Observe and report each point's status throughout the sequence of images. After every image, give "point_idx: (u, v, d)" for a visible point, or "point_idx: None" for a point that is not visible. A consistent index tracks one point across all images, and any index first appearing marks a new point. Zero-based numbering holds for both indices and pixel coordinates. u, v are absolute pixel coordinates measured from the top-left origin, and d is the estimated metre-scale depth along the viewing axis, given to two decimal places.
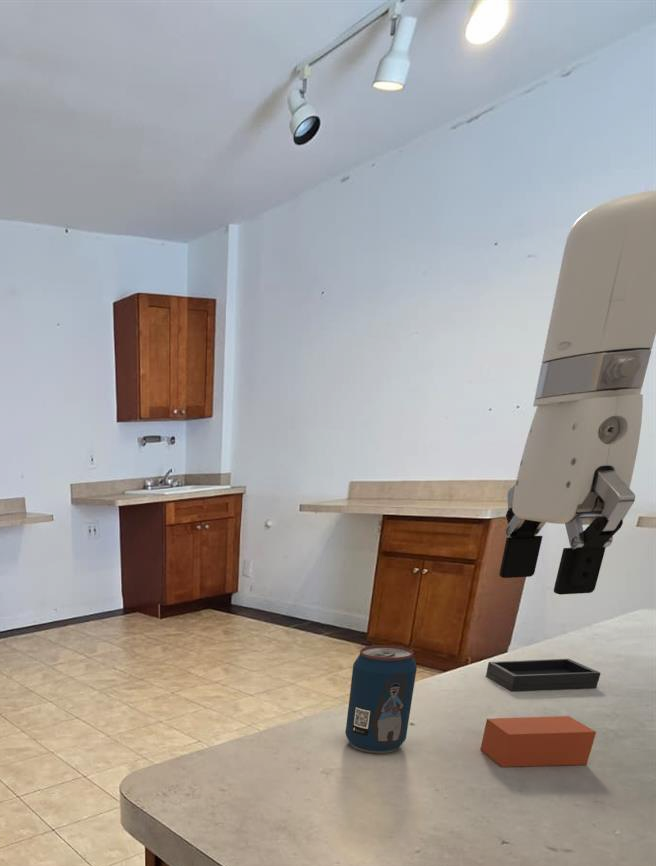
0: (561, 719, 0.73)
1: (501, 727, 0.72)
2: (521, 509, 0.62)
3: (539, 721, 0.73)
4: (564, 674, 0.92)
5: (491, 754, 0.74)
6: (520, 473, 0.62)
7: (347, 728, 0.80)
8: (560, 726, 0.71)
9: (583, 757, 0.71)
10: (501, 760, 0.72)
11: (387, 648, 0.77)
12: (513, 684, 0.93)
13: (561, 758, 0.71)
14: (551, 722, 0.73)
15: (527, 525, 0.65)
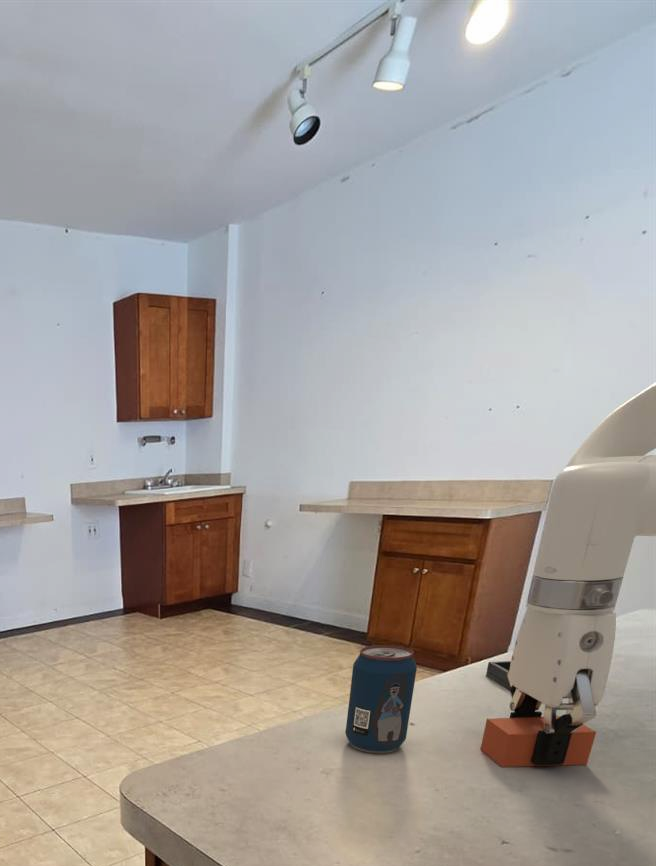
0: None
1: (501, 727, 0.72)
2: (516, 682, 0.73)
3: (539, 721, 0.73)
4: None
5: (491, 754, 0.74)
6: (515, 652, 0.73)
7: (347, 728, 0.80)
8: None
9: (583, 757, 0.71)
10: (501, 760, 0.72)
11: (387, 648, 0.77)
12: None
13: None
14: None
15: (528, 703, 0.74)
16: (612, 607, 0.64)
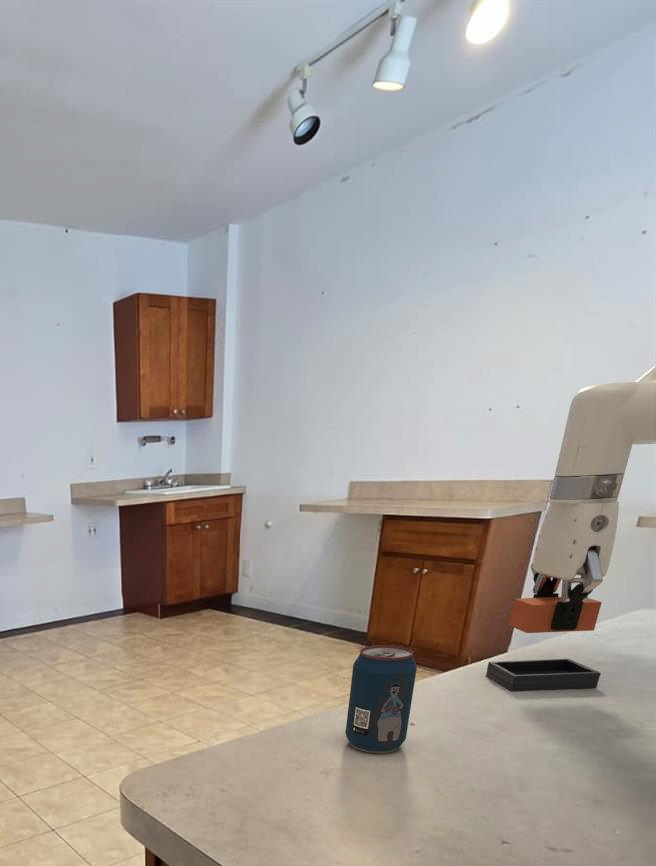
0: None
1: (527, 602, 0.91)
2: (539, 567, 0.92)
3: (556, 598, 0.92)
4: (564, 674, 0.92)
5: (518, 625, 0.93)
6: (538, 543, 0.92)
7: (347, 728, 0.80)
8: None
9: (591, 624, 0.90)
10: (526, 628, 0.91)
11: (387, 648, 0.77)
12: (513, 684, 0.93)
13: None
14: None
15: (548, 586, 0.94)
16: (615, 497, 0.83)
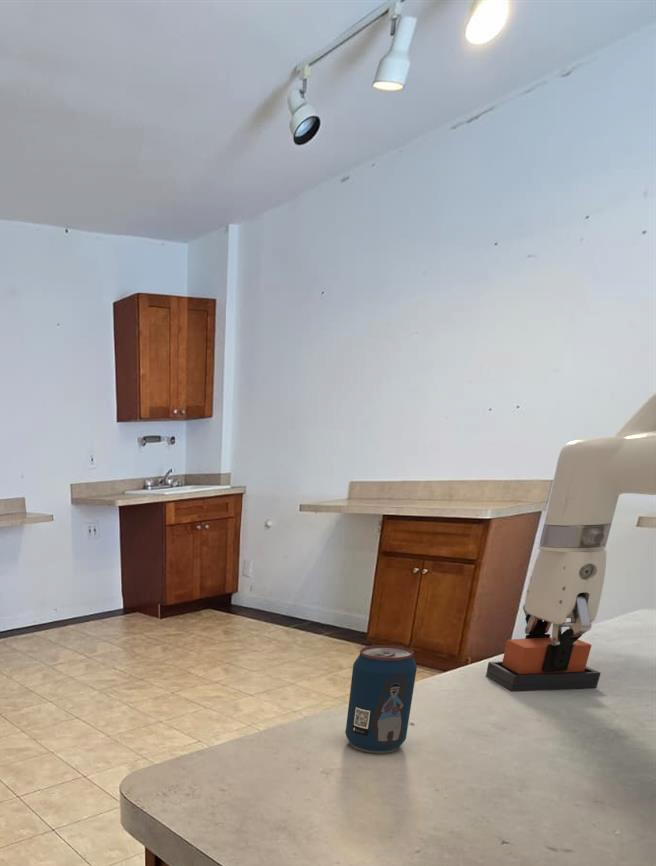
0: None
1: (519, 644, 0.94)
2: (530, 609, 0.95)
3: (547, 640, 0.95)
4: (564, 674, 0.92)
5: (511, 666, 0.96)
6: (530, 586, 0.94)
7: (347, 728, 0.80)
8: None
9: (581, 665, 0.93)
10: (519, 669, 0.94)
11: (387, 648, 0.77)
12: (513, 684, 0.93)
13: None
14: None
15: (540, 627, 0.96)
16: (603, 546, 0.85)
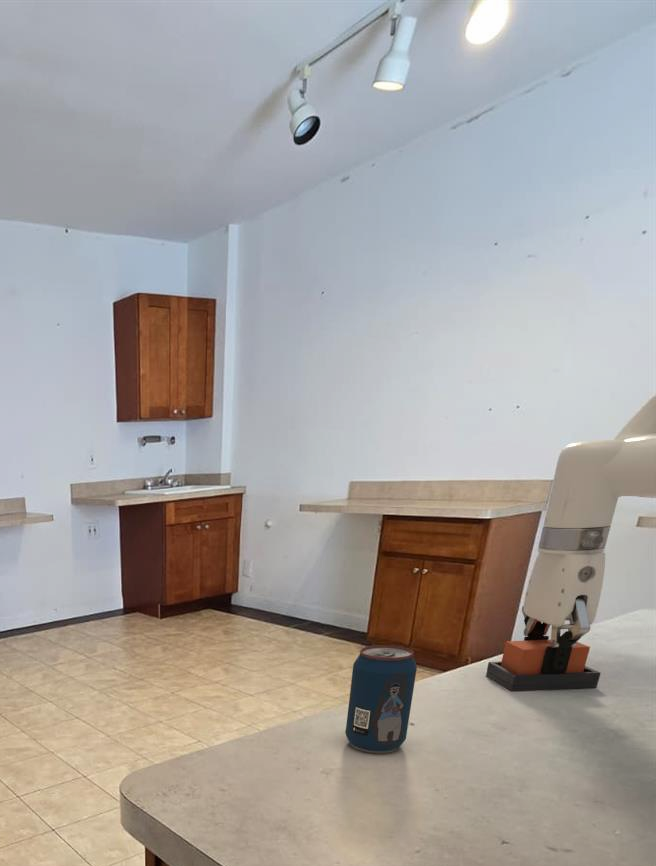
0: None
1: (517, 646, 0.94)
2: (529, 611, 0.95)
3: (546, 642, 0.95)
4: (564, 674, 0.92)
5: (509, 667, 0.96)
6: (529, 588, 0.95)
7: (347, 728, 0.80)
8: None
9: (580, 667, 0.93)
10: (517, 671, 0.94)
11: (387, 648, 0.77)
12: (513, 684, 0.93)
13: None
14: None
15: (538, 629, 0.96)
16: (602, 548, 0.86)
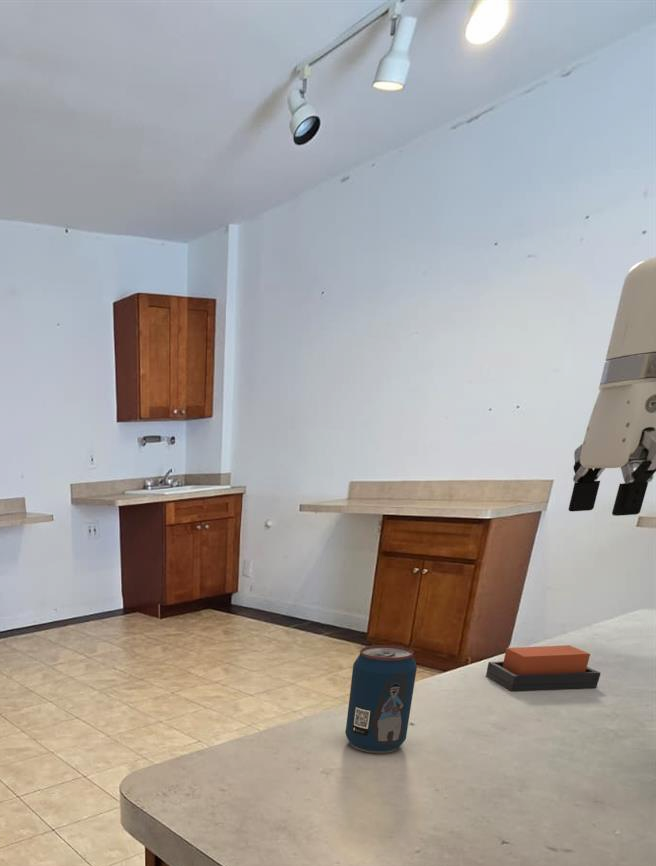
0: (564, 647, 0.95)
1: (518, 653, 0.95)
2: (587, 460, 0.90)
3: (546, 649, 0.95)
4: (564, 674, 0.92)
5: None
6: (587, 436, 0.90)
7: (347, 728, 0.80)
8: (563, 651, 0.94)
9: None
10: None
11: (387, 648, 0.77)
12: (513, 684, 0.93)
13: None
14: (556, 649, 0.95)
15: (589, 473, 0.93)
16: None
